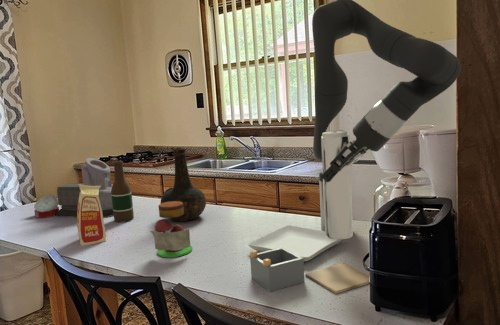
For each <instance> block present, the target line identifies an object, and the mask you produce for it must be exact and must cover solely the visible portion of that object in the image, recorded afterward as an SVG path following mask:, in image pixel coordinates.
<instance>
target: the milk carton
mask: <svg viewBox="0 0 500 325" xmlns="http://www.w3.org/2000/svg"><path fill="white" fill-rule="evenodd" d="M100 187H101V186H86V185H79V188H80V195H79V200H78V206H77V217H76V227H77V234H78V238H79V243H80V246H81V247H84V246H89V245H95V244H98V243H103V242H106V241H107V233H106V232H107V231H106V228H105V222H104V221H105V220H104V218H103V214H102V209H101V204H100V200H99V196H98V194H99V188H100Z"/></svg>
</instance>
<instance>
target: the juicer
mask: <svg viewBox="0 0 500 325" xmlns="http://www.w3.org/2000/svg"><path fill="white" fill-rule="evenodd" d="M80 170H81V174H82V183H80V182H79V183H66V184H63V185H60V186H57V187H56V195H57V196H56V197H57V199H58V205H59V206H60V208H59V211H58V212H57V213H56V215H55V216H54V217H64V218H65V217H71V218H72V217H73V218H75V217H76V218H77V206H78V200H79V195H80V188H79V185H86V186H101V187H100V188H99V194H98V196H99V200H100V204H101V209H102V214H103V219H108V218H114V215H113V206H112V197H111V189H112V186H113V184H114V183H112V176H111V168H110V166H109V165H108V164H107V163H105V162H104V161H102V160H100V159H97V158H94V157H93V158H92V157H88V158H86V159H85V165H82V167H81V169H80Z"/></svg>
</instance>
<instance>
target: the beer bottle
mask: <svg viewBox="0 0 500 325" xmlns="http://www.w3.org/2000/svg"><path fill="white" fill-rule="evenodd" d="M112 165H113V166H114V167H113V169H114V182H113V183H112V184H113V186H112V189H111V197H112V206H113V215H114V216H113V218H114V219H113V220H114V222H115V223H126V222H131V221H133V219H134V217H135V216H134V214H135V212H134V207H133V206H134V205H133V195H132V194H133V192H132V188H131V186H130V184H129V183H128V182H127V179H126V177H125V173H124V172H125V171H124V170H125V169H124V162H123V160H115V161H113V164H112Z"/></svg>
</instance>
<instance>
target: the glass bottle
mask: <svg viewBox="0 0 500 325" xmlns="http://www.w3.org/2000/svg"><path fill="white" fill-rule="evenodd" d="M171 155H172V156H174V182H173V187H169V188H167V189H166V190H165V191H164V193H163V195H162V197H161V199H160V204H161V203H164V202H170V201H180V202H182V203H183V210H184V214H183V215H181V216H179V217H174V218H169V219H170V220H172V221H174V222H188V221H192V220H196V219H197V218H198V217H199V216H201V214H202V213H203V212H204V210H205V209H206V205H207V199H206V195H205V194H204V193H203V191H202V190H200V189H199V188H197V187H196V186H194V185H193V183H192V181H191V178H190V174H189V168H188V162H187V156H186V155H188V152H186V148H182V147H179V148H178V147H176V148H173V153H172V154H171Z"/></svg>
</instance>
